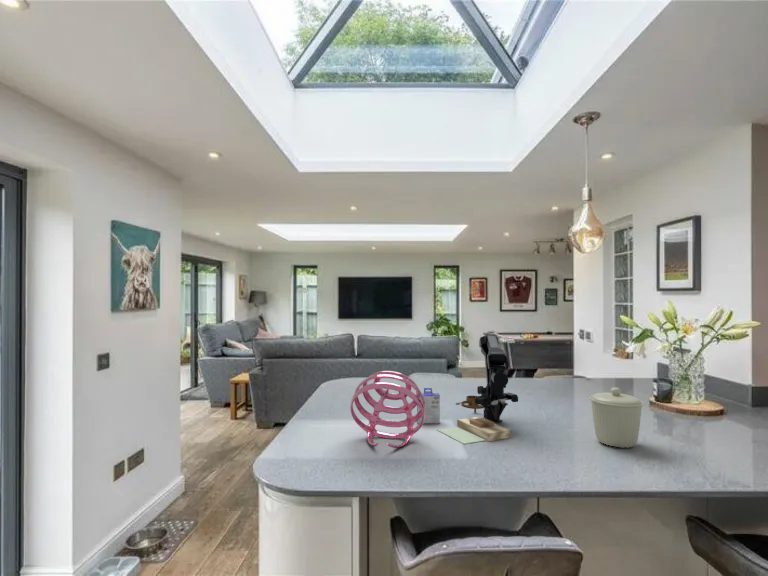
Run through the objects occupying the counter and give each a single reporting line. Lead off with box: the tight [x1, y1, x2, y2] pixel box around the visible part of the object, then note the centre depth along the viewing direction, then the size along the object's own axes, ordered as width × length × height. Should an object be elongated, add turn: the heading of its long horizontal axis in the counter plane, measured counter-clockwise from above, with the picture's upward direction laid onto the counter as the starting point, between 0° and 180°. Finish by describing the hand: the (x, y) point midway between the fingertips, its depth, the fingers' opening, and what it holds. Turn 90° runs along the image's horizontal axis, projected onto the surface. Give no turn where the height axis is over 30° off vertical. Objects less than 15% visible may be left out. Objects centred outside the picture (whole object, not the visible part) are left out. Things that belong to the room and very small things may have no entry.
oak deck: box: [456, 416, 512, 442], centre depth 171 cm, size 11×20×3 cm, turn 26°
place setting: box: [455, 395, 484, 414], centre depth 211 cm, size 18×20×6 cm
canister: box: [589, 387, 645, 448], centre depth 158 cm, size 18×18×21 cm
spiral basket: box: [349, 370, 425, 449], centre depth 157 cm, size 28×28×27 cm
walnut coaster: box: [470, 417, 494, 428], centre depth 171 cm, size 7×7×2 cm
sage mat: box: [437, 426, 486, 445], centre depth 166 cm, size 10×18×1 cm, turn 26°
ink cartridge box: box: [416, 387, 441, 424], centre depth 184 cm, size 10×6×14 cm, turn 90°
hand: (496, 419), depth 174 cm, fingers closed
